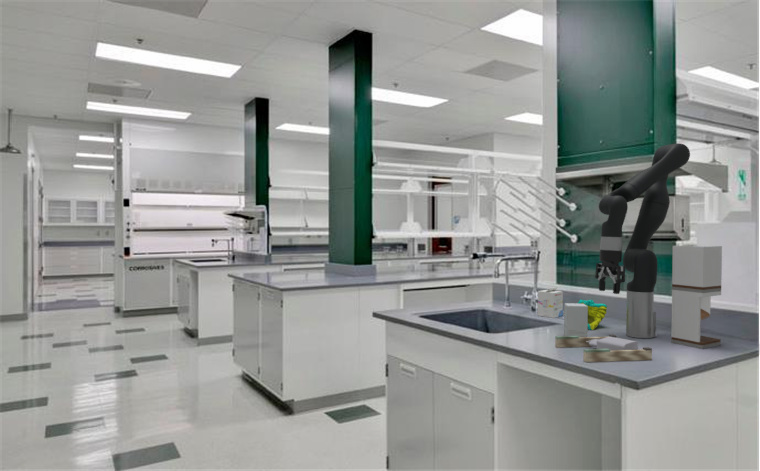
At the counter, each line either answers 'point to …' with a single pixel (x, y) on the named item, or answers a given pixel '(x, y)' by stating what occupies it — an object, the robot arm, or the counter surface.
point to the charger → (614, 344)
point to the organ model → (594, 313)
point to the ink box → (550, 303)
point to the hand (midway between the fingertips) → (608, 292)
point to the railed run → (602, 350)
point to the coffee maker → (694, 292)
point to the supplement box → (575, 319)
